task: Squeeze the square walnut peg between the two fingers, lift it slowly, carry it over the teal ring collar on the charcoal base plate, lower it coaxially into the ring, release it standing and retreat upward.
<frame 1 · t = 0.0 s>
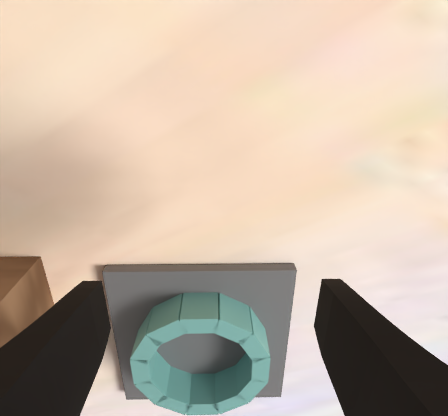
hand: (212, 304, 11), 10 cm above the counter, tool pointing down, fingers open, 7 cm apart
walnut peg: (16, 283, 22), on the counter
collar: (202, 333, 25), on the counter
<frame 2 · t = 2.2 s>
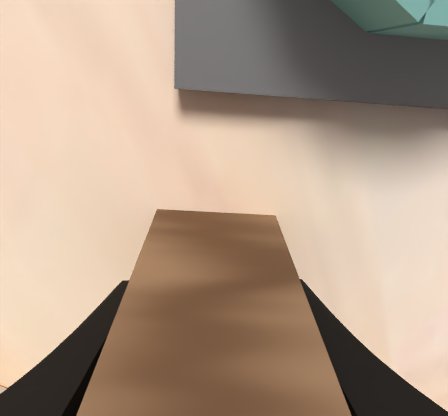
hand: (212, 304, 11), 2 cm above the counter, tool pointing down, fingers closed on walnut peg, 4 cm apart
walnut peg: (213, 261, 13), on the counter, touching gripper
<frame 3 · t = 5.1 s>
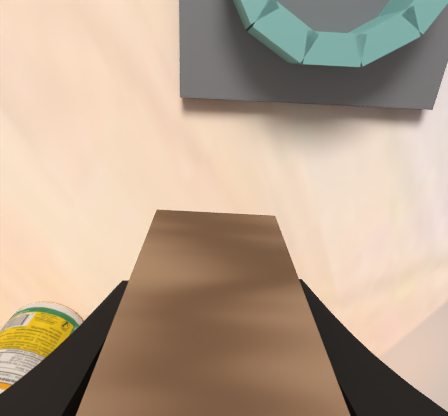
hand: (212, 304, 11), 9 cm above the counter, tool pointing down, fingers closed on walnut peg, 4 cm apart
supplement bottle: (53, 325, 23), on the counter
walnut peg: (213, 262, 13), point 7 cm above the counter, touching gripper
when the fingers open (5 cm above the counter, at t = 8.1 s): walnut peg drops 1 cm, resting on collar.
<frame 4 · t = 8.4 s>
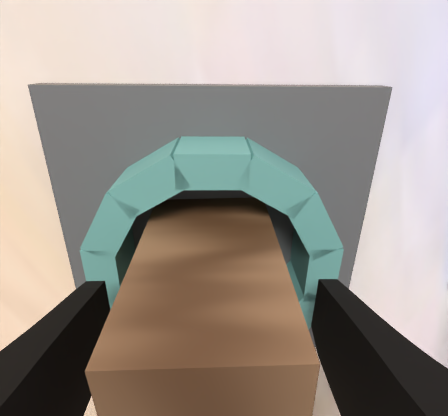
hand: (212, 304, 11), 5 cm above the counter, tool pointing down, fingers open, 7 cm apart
walnut peg: (211, 243, 14), point 1 cm above the counter, touching collar
collar: (213, 233, 15), on the counter
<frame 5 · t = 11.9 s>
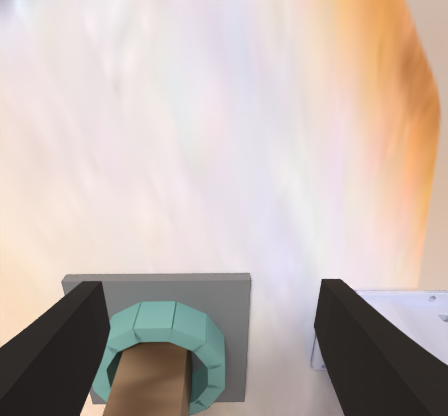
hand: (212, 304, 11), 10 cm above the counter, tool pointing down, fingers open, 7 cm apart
walnut peg: (162, 349, 25), point 1 cm above the counter, touching collar
collar: (165, 340, 25), on the counter
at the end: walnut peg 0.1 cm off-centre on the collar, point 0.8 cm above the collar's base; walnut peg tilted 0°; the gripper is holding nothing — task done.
